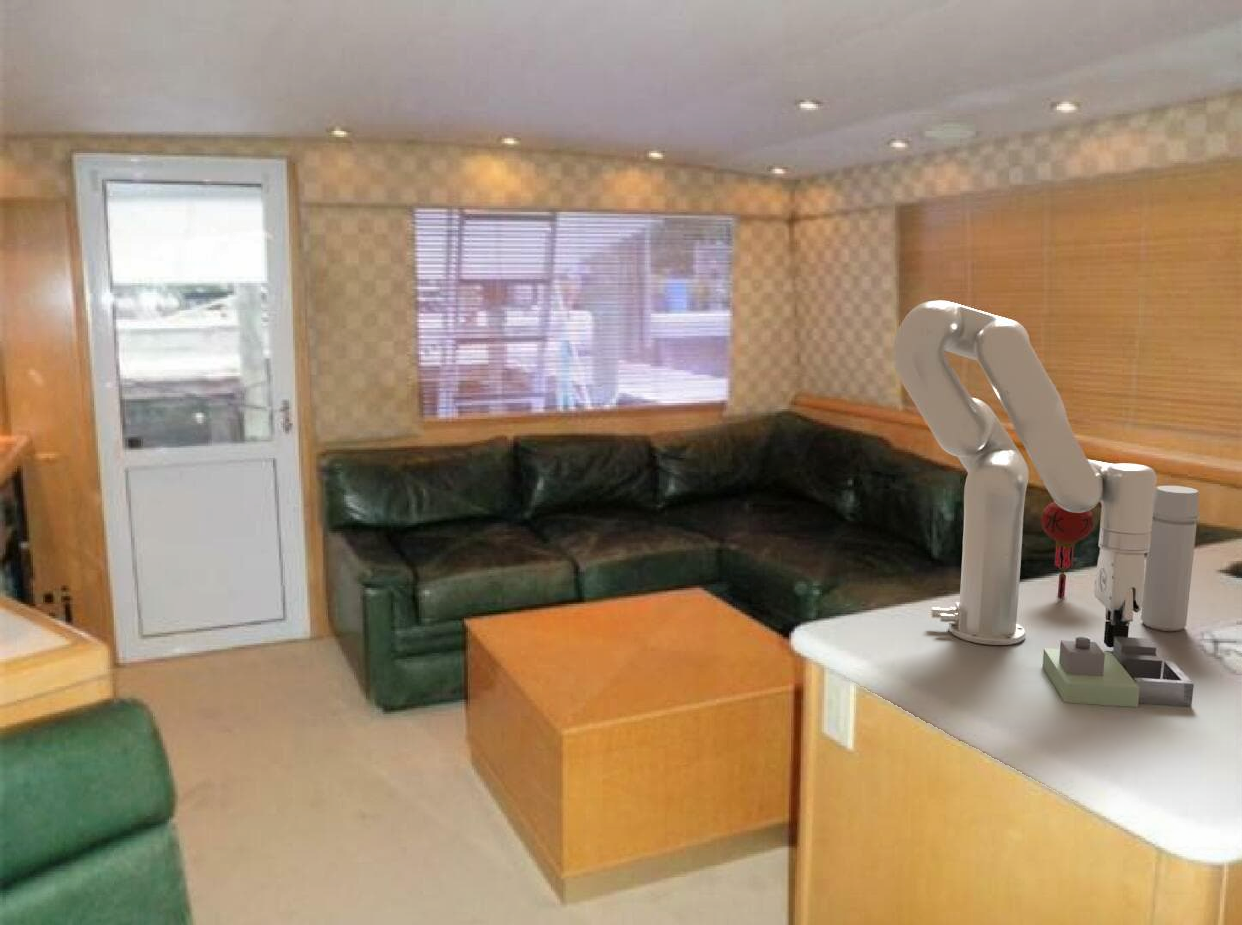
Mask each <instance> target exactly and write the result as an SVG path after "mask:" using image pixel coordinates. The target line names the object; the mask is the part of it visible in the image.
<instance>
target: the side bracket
mask: <svg viewBox="0 0 1242 925" xmlns="http://www.w3.org/2000/svg"><path fill="white" fill-rule="evenodd" d="M1134 681H1135V683H1136V684H1137V685H1138V686H1139V687H1140V689H1139V700H1138V704H1146V705H1161V706H1162V705H1164V706H1176V707H1177V706H1179V707H1192V705H1193V704H1192V703H1193V694H1194V686H1195V683H1194V682H1193V681H1191V679H1190V678H1189V677H1188V676H1187V675H1186V674H1185V673H1184V672H1183V671H1182V670H1181V669H1180V668H1179V667H1178V666H1177V664H1176V663H1175V662H1174V661H1166V660H1165V661H1163V671H1162V678H1160V679H1148V678H1134Z"/></svg>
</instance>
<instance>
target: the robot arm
mask: <svg viewBox="0 0 1242 925" xmlns="http://www.w3.org/2000/svg"><path fill="white" fill-rule="evenodd" d="M946 352H948V353H951V354H954V355H956V356H957V355H958V356H961V357H964V358H968V359H971V360H975V361H977V363H978V364H979V366H980V368H981V370H982V371H983V374H984V375H985V377H986V379H987V381H988V382H989V384H990V385H991V387H992V389H993V390H994V392H995V394H996V396H997V398H998V400H999V402H1000V404H1001V405H1002V407H1003V408H1004V410H1005V412H1006V414H1007V416H1008V419H1010V422H1011V423H1012V426H1013V428H1014V431H1015V432H1016V434H1017V436H1018V438H1019V439H1020V441H1021V443H1022V445H1023V446H1024V448H1025V450H1026V453H1027V455H1028V456H1029V458H1030V460H1031V463H1032V465H1033V466H1034V468H1035V470H1036V472H1037V473H1038V475H1039V477H1040V479H1041V481H1042V483H1043V484H1044V486H1045V487H1046V490H1047V491H1048V493H1049V495H1050V497H1051V498H1052V500H1053V502H1056V503H1057V504H1058V505H1059V506H1060V507H1061V508H1063V509H1064V510H1066V511H1069V512H1073V513H1081V512H1086V511H1089V510H1090V511H1091V510H1093V508H1095V507H1096V506H1097V505H1098V504H1099V503H1100V504H1101V508H1100V509H1101V510H1100V522H1099V524H1100V525H1099V533H1098V547H1099V552H1098V557H1097V564H1096V570H1095V571H1096V572H1095V580H1094V587H1093V595H1094V597H1095V598H1096V599H1097V600H1098V601H1099V602H1100V604H1102V606H1104V608H1105V621H1104V622H1105V624H1104V632H1103V633H1104V636H1103V643H1104V645H1105V646H1106V647H1107V648H1113V647H1114V636H1115V637H1129V631H1130V629H1129V628H1130V623H1132V622H1133V621H1134V612H1135V613H1139V612H1140V611H1142V602H1143V592H1144V580H1145V568H1146V564H1145V554H1147V553H1148V552H1149V551H1150V541H1151V530H1152V519H1153V517H1154V516H1153V508H1154V497H1155V490H1156V487H1157V486H1156V484H1157V475H1156V471H1155V470H1154V469H1153V468H1152V467H1150V466H1147V465H1143V464H1139V463H1130V462H1129V463H1122V462H1121V463H1111V462H1110V463H1109V462H1103V461H1098V460H1094V459H1089V458H1087V456H1086V454H1085V452H1084V451H1083V449H1082V447H1081V446H1080V444H1079V441H1078V440H1077V438H1076V436H1075V433H1074V432H1073V430H1072V427H1071V424H1070V422H1069V419H1068V416H1067V412H1066V408H1065V405H1064V403H1063V400H1062V396H1061V395H1060V393H1059V391H1058V390H1057V387H1056V386H1055V384H1054V383H1053V381H1052V379H1051V378H1050V376H1049V375H1048V373H1047V371H1046V369H1045V368H1044V366H1043V364H1042V362H1041V361H1040V359H1039V357H1038V355H1037V353H1036V351H1035V350H1034V348H1033V346H1032V344H1031V342H1030V335H1029V333H1028V331H1027V329H1026V328H1025V327H1024V326H1023V325H1022V324H1021V323H1019V322H1018V321H1016V320H1013V319H1010V318H1006V317H1004V316H1003V317H1002V316H999V315H994V314H991V313H989V312H985V311H982V310H977V309H974V308H971V307H968V306H965V305H961V304H958V303H955V302H951V301H948V300H930V301H926V302H922V303H920V304H918V305H916V306H915V307H914V308H913V309H911V310H910V311H909V313H907V315H905V317H904V318H903V320H902V321H901V324H900V325H899V327H898V329H897V331H896V334H895V336H894V341H893V348H892V358H893V360H892V361H893V364H894V368H895V370H896V374H897V376H898V378H899V380H900V382H901V383H902V386H903V387H904V389H905V391H906V392H907V394H908V395H909V397H910V398H911V400H912V402H913V404H914V405H915V407H916V409H917V411H918V412H919V414H920V415H921V417H922V418H923V421H924V423H926V425H927V427H928V428H929V430H930V432H931V433H932V435H933V437H934V439H935V440H936V442H937V443H938V445H939V446H940V448H941V449H942V450H943V451H945V452H946V453H947V454H949V455H950V456H954V457H957V458H958V460H959V461H960V463H961V464H962V466H963V467H964V469H965V470H966V472H967V475H966V478H965V484H964V490H963V491H964V492H963V534H962V535H963V536H962V556H961V558H962V559H961V573H960V574H961V576H960V589H959V590H960V591H959V601H955V606H949V608H945V607H935V606H932V607H931V609H930V617H931V618H932V619H939V621H940V622H943V623H948V630H949V633H951V634H952V635H953V636H955V637H956V638H959V639H962V640H963V641H967V642H971V643H975V644H981V645H987V646H988V645H989V646H1009V645H1016V644H1018V643H1021V642H1023V641H1024V639H1025V638H1026V630H1025V628H1024V627H1023V626H1022V625H1021V624H1019V623H1017V620H1018V619H1017V618H1018V604H1019V591H1020V590H1019V589H1020V578H1021V577H1020V576H1021V566H1022V565H1021V563H1022V562H1021V561H1022V544H1023V532H1024V531H1023V530H1024V529H1023V528H1024V515H1025V502H1026V494H1027V492H1026V491H1027V487H1028V484H1029V483H1028V482H1029V477H1030V476H1029V475H1030V473H1029V467H1028V464H1027V462H1026V461H1025V458H1024V457H1023V455H1022V454H1021V452H1020V451H1019V448H1018V447H1017V446H1016V444H1015V442H1014V441H1013V440H1012V438H1011V436H1010V435H1009V433H1008V432H1007V430H1006V429H1005V428H1004V425H1002V423H1001V421H1000V420H999V418H998V417H997V415H996V414H995V412H994V411H993V409H992V408H991V407H990V406H989V405H988V404H987V403H986V402H984V401H983V400H980V399H979V398H975V397H972V395H971V394H970V393H969V391H968V390H967V388H966V387H965V386H964V384H963V383H962V381H961V379H960V377H959V375H958V374H957V373H956V371H955V370H954V368H953V367H952V366H951V364H950V363H949V361H948V358H947V356H946Z"/></svg>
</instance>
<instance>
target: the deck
mask: <svg viewBox="0 0 1242 925" xmlns="http://www.w3.org/2000/svg"><path fill="white" fill-rule="evenodd" d="M1042 657H1043V658H1042V668H1043V669H1044V671H1045V672H1046V674H1047V676H1048V678H1049V679H1050V680H1051V682H1052V684H1053V686H1054V687H1055V689H1056V690H1057V692H1058V694H1059V695H1060V696H1061V699H1062V701H1063V702H1064V703H1069V704H1071V703H1073V704H1087V705H1101V706H1102V705H1103V706H1114V707H1115V706H1116V707H1131V708H1138V706H1139V703H1138V700H1139V689H1140V687H1139V686H1138V685H1137V684H1136V683H1135V681H1134V680H1133V679H1132V678H1131V676H1130V675H1129V674H1128V673H1127V672H1126V670H1125V669H1124V668H1123V667H1122V665H1121V664H1120V663H1119V662H1118V660H1117V659H1116V658H1115V657H1114V656H1113V652H1111V651H1103V650H1102V648H1101V647H1100V646H1099V645H1098V643H1097V642H1095V641H1091V639H1090V638H1087V637H1085V636H1084V637H1082V636H1080V637H1079V636H1078V637H1075V640H1066V639H1065V640H1064V639H1063V640H1060V647H1059V648H1043V656H1042Z"/></svg>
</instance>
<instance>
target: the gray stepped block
mask: <svg viewBox="0 0 1242 925" xmlns="http://www.w3.org/2000/svg"><path fill="white" fill-rule="evenodd" d="M1112 648H1113V650H1112V654H1113V656H1114V657H1115V658H1116V659H1117V660H1118V662H1119V663H1120V664H1121V665H1122V667H1123V668H1124V669H1125V670H1126V672H1127V673H1128V674H1129V675H1130V676H1131V678H1132V679H1133V680H1134V678H1148V679H1161V676H1162V667H1163V660H1162V659H1161V658H1160V657H1159V656H1158V654H1157V646H1156V645H1155V644H1154V643H1153V642H1152V641H1151V640H1150V639H1149V638H1146V637H1145V638H1144V637H1130V636H1128V637H1115V636H1114V647H1112Z"/></svg>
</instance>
